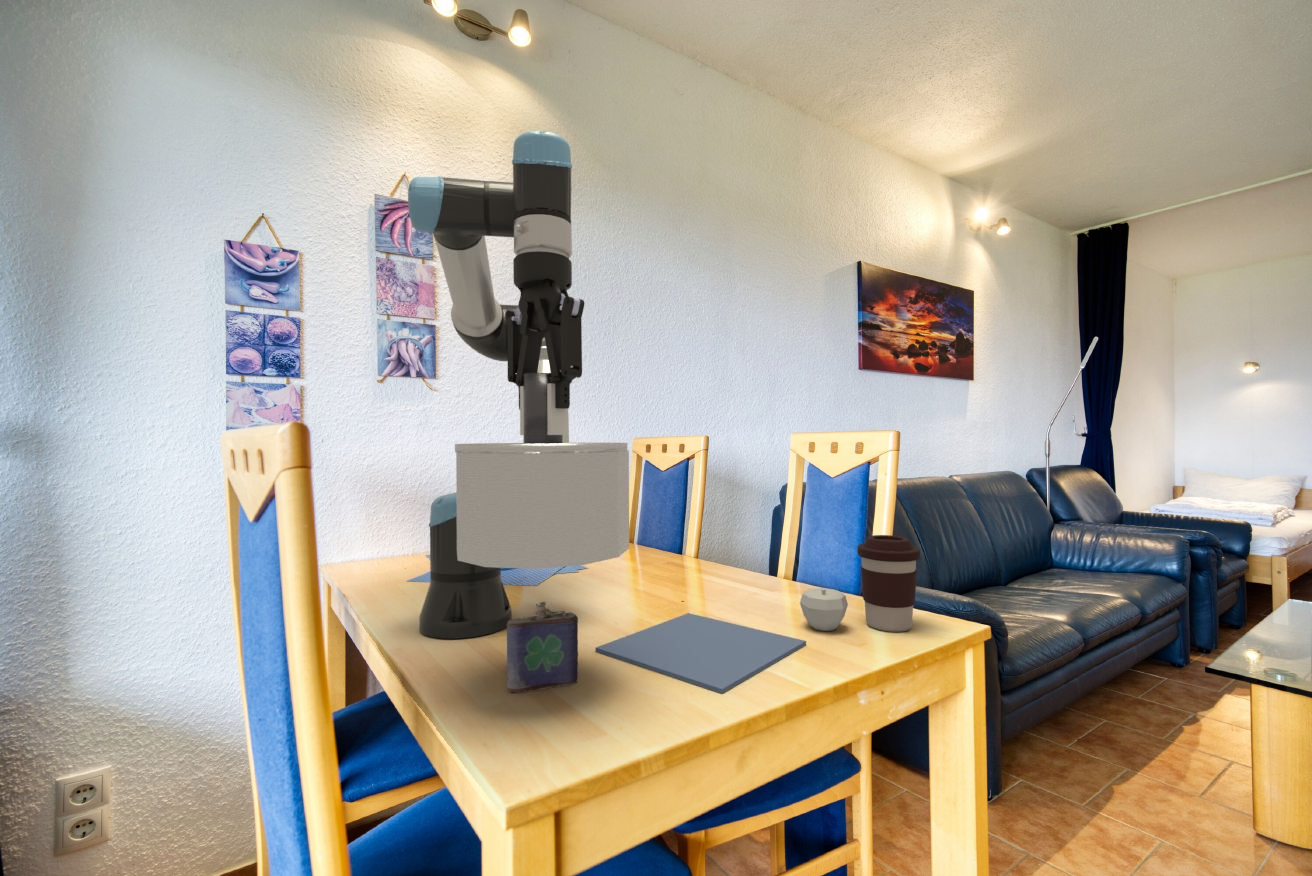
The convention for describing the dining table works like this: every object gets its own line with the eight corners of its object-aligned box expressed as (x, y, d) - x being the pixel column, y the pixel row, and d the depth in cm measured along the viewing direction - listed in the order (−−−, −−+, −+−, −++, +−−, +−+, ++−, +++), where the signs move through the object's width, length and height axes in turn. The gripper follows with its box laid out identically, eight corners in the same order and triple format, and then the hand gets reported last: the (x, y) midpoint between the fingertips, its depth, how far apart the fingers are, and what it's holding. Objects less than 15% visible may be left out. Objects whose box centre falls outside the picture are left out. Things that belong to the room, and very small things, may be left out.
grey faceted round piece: (852, 637, 95) (851, 596, 95) (801, 634, 97) (801, 594, 97) (844, 621, 103) (844, 584, 103) (798, 619, 104) (797, 582, 105)
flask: (507, 695, 74) (507, 609, 74) (505, 686, 77) (505, 603, 77) (580, 684, 77) (579, 602, 77) (575, 676, 80) (575, 597, 80)
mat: (595, 651, 89) (595, 647, 89) (688, 616, 107) (688, 612, 107) (722, 693, 74) (722, 689, 74) (806, 644, 92) (806, 640, 92)
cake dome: (422, 552, 76) (421, 374, 76) (555, 531, 93) (554, 385, 93) (527, 578, 62) (526, 359, 62) (662, 547, 79) (661, 375, 79)
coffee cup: (927, 637, 95) (926, 543, 95) (862, 633, 97) (861, 542, 97) (913, 618, 105) (912, 534, 105) (854, 615, 107) (853, 532, 107)
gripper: (478, 264, 81) (479, 435, 81) (566, 234, 69) (567, 434, 69) (524, 275, 86) (524, 435, 86) (611, 250, 75) (612, 434, 75)
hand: (543, 434), depth 78 cm, fingers closed on cake dome, 5 cm apart
